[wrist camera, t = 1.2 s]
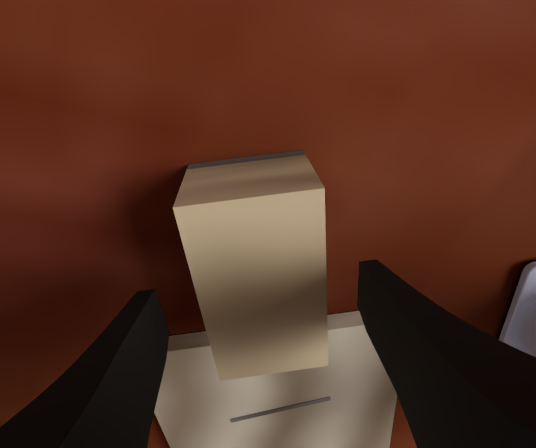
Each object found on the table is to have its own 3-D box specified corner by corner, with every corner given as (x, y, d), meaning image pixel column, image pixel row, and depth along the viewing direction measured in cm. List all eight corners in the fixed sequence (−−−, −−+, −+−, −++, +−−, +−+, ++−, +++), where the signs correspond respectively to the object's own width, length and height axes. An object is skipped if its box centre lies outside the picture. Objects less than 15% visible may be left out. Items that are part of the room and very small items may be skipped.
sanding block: (189, 162, 13) (172, 207, 10) (301, 148, 13) (324, 188, 10) (223, 311, 17) (219, 381, 14) (309, 299, 17) (328, 365, 14)
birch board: (400, 305, 18) (409, 320, 17) (375, 497, 29) (379, 512, 28) (134, 340, 17) (128, 357, 17) (211, 521, 28) (210, 537, 27)
